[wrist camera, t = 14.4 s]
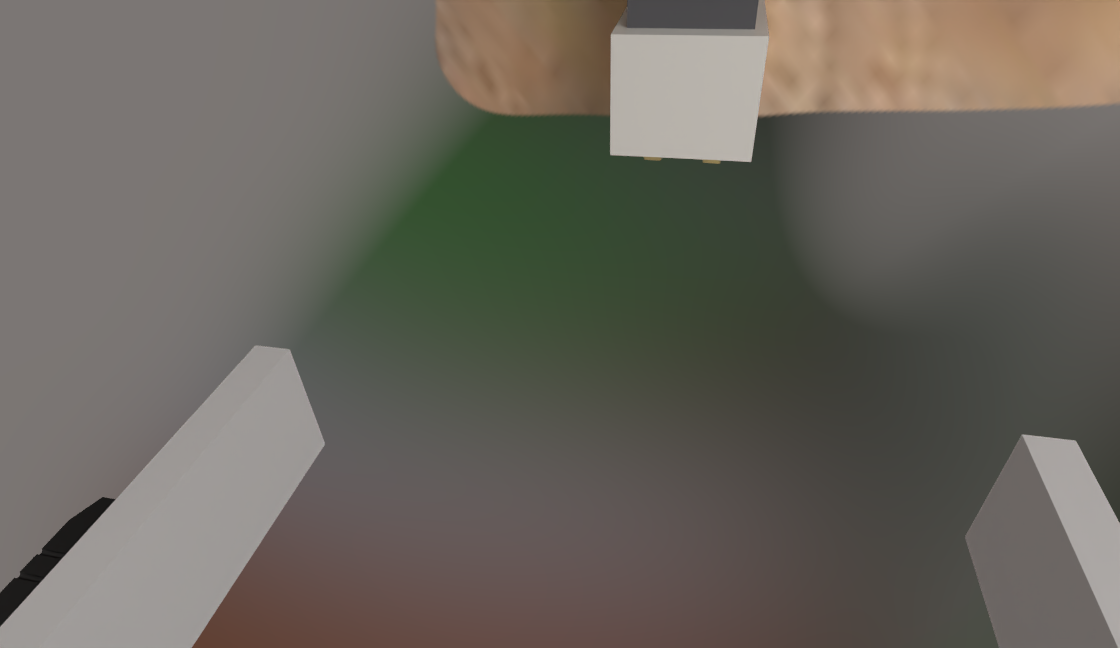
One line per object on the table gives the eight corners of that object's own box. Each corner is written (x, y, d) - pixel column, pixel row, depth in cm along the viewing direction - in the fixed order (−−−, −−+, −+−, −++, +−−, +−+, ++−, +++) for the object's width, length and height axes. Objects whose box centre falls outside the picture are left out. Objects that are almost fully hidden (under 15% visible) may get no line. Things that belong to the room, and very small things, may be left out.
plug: (640, -191, 28) (612, -192, 22) (788, -199, 27) (803, -202, 21) (632, 122, 36) (609, 186, 30) (745, 126, 35) (746, 194, 29)
